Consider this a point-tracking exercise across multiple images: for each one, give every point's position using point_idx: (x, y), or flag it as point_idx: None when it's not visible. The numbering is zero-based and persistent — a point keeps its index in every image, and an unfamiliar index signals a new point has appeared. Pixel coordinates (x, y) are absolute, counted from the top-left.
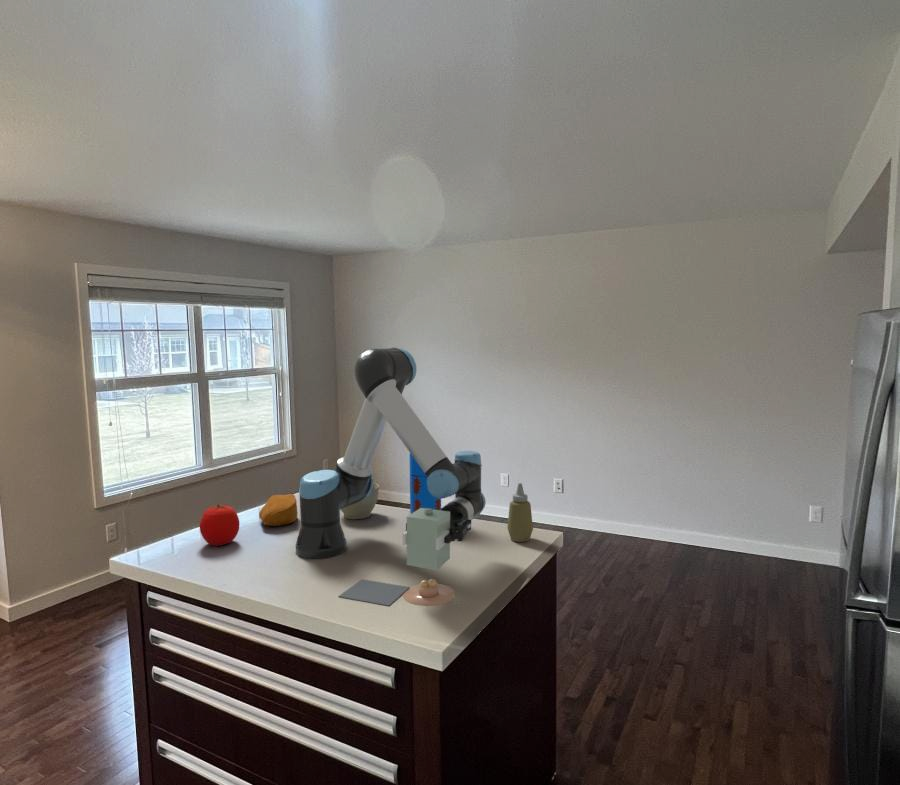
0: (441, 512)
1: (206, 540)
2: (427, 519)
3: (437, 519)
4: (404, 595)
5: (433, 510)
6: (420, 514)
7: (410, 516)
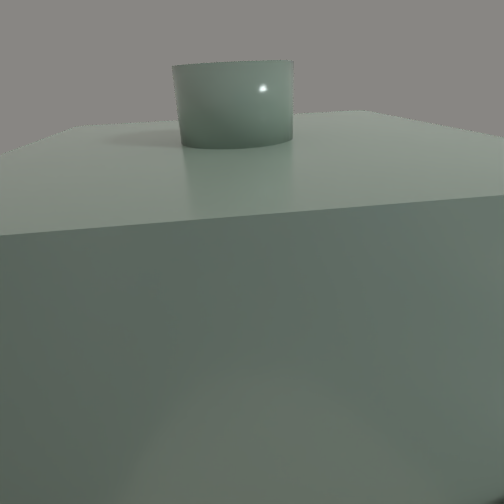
0: (52, 185)
1: None
2: (173, 121)
3: (80, 129)
4: None
5: (279, 186)
6: (313, 126)
7: (344, 113)
